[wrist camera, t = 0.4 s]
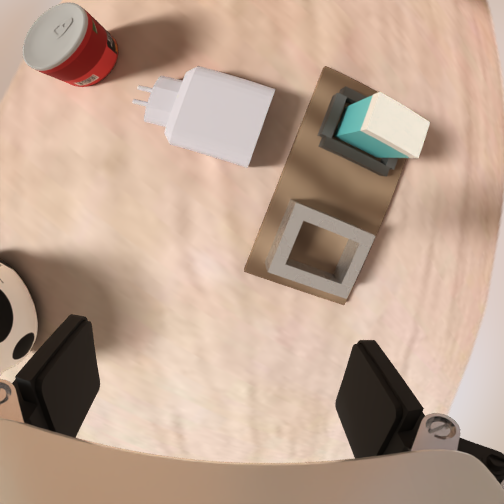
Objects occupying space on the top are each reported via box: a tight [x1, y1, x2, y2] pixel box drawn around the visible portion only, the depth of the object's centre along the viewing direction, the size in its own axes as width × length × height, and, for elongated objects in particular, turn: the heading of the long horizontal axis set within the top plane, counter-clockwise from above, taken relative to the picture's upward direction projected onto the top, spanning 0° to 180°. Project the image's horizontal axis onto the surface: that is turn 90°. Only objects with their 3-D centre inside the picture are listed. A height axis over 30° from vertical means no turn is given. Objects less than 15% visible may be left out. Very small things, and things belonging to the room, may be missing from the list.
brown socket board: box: [244, 66, 406, 305], centre depth 37 cm, size 27×14×3 cm, turn 159°
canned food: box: [23, 3, 118, 87], centre depth 27 cm, size 8×8×11 cm
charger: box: [132, 66, 275, 168], centre depth 33 cm, size 5×9×15 cm
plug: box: [334, 92, 430, 158], centre depth 31 cm, size 4×6×10 cm, turn 69°
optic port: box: [265, 199, 375, 299], centre depth 37 cm, size 8×10×4 cm
